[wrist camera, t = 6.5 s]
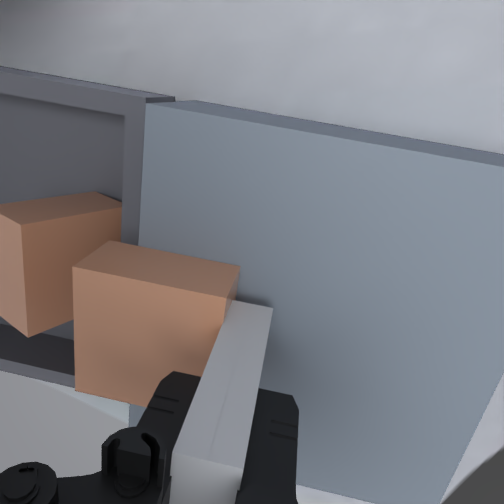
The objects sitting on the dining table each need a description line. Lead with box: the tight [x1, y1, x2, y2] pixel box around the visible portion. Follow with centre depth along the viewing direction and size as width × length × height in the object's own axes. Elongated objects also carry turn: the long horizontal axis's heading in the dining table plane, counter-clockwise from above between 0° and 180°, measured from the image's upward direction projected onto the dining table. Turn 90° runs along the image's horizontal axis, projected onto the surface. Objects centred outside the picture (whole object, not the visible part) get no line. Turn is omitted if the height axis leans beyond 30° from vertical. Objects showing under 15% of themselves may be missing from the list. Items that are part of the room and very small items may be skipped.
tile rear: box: [0, 191, 122, 338], centre depth 18 cm, size 5×5×2 cm
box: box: [0, 66, 175, 388], centre depth 20 cm, size 12×15×4 cm
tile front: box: [72, 240, 241, 407], centre depth 15 cm, size 5×5×2 cm
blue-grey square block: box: [129, 101, 504, 504], centre depth 18 cm, size 14×15×6 cm
